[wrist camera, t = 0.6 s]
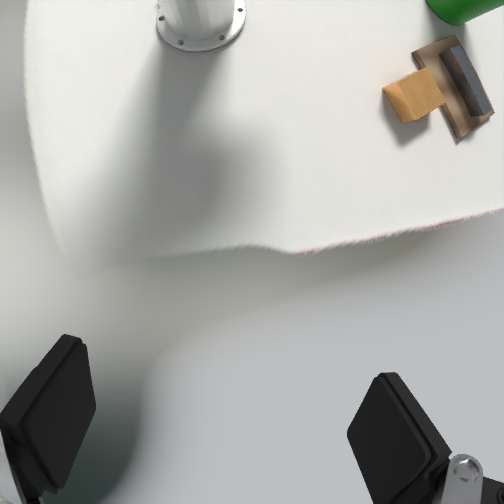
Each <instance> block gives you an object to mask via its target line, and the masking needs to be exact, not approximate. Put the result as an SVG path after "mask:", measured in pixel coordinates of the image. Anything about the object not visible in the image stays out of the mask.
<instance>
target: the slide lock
mask: <svg viewBox="0 0 504 504" xmlns="http://www.w3.org/2000/svg"><path fill="white" fill-rule="evenodd" d="M382 89H383V90H384V92H385V94H386V95H387V97H388V99H389V100H390V102H391V104H392V106H393V107H394V109H395V111H396V113H397V114H398V116H399V118H400V120H401V122H407V121H413V120H418V119H420V118H421V117H423V116H424V115H426V114H428V113H429V112H431V111H433V110H434V109H436V108H437V107H439V106H441V105H442V104H444V103H446V101H445V99H444V97H443V95H442V93H441V91H440V89H439V88H438V86H437V84H436V82H435V80H434V78H433V77H432V75H431V73H430V71H429V70H428V68H427V67H425V68H423V69H420V70H418V71H415V72H413V73H411V74H409V75H407V76H406V77H404V78H403V79H401V80H399V81H397V82H394V83H392V84H390V85H387V86H385V87H384V88H382Z"/></svg>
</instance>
